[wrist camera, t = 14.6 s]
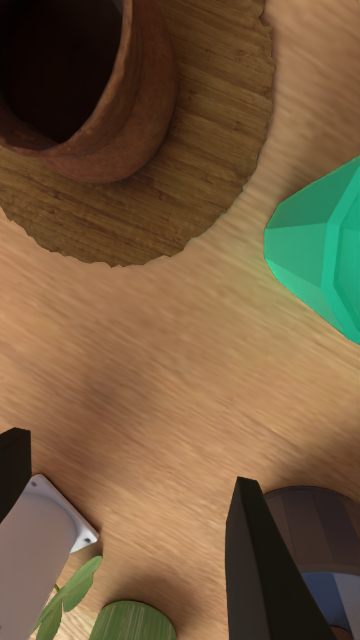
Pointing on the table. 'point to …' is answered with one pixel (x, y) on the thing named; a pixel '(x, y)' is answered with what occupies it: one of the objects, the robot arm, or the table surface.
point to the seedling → (66, 599)
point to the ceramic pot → (129, 120)
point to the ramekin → (132, 623)
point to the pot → (317, 524)
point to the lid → (336, 595)
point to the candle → (321, 247)
